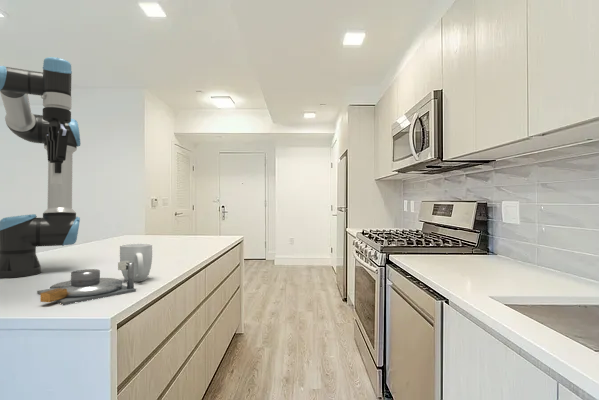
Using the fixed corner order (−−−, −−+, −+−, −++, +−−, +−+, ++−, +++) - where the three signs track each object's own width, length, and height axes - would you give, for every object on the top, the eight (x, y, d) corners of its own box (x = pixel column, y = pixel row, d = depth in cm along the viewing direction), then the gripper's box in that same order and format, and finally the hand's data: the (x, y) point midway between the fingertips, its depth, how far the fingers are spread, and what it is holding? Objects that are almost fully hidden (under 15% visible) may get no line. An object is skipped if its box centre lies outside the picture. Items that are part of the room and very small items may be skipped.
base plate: (37, 293, 117) (37, 290, 117) (105, 282, 134) (105, 280, 134) (63, 305, 104) (63, 302, 104) (135, 291, 121) (135, 288, 121)
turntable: (14, 300, 105) (14, 291, 105) (82, 281, 131) (82, 274, 131) (77, 304, 102) (77, 295, 102) (134, 283, 127) (134, 276, 127)
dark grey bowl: (64, 286, 116) (64, 273, 116) (83, 280, 124) (83, 268, 124) (88, 287, 115) (88, 274, 115) (105, 281, 123) (105, 269, 123)
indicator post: (113, 290, 121) (114, 261, 121) (127, 288, 125) (128, 260, 125) (120, 293, 119) (121, 263, 119) (135, 290, 122) (135, 261, 122)
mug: (157, 283, 133) (157, 246, 133) (123, 286, 127) (124, 248, 127) (148, 276, 146) (148, 242, 146) (117, 279, 140) (117, 244, 140)
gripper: (35, 109, 119) (35, 183, 119) (51, 103, 111) (50, 182, 111) (62, 114, 125) (61, 184, 125) (78, 108, 117) (77, 183, 116)
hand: (56, 183), depth 118 cm, fingers closed
